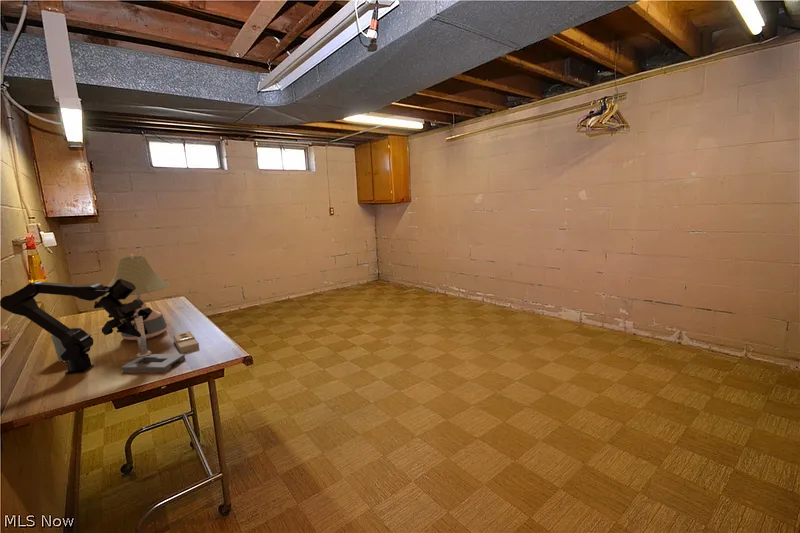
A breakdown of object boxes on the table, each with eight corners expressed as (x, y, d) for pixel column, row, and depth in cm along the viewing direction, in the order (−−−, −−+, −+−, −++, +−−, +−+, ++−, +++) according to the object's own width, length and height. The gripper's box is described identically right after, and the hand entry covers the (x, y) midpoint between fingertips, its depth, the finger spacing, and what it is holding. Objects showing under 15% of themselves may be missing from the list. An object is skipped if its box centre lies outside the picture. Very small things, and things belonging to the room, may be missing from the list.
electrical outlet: (179, 345, 155) (172, 334, 169) (181, 354, 156) (174, 342, 169) (198, 341, 160) (190, 330, 173) (199, 349, 161) (191, 338, 174)
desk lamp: (124, 350, 161) (107, 260, 153) (105, 338, 178) (89, 256, 170) (185, 333, 181) (172, 252, 173) (163, 323, 198) (151, 249, 190)
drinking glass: (54, 364, 149) (48, 337, 146) (58, 356, 157) (53, 331, 154) (86, 358, 154) (80, 331, 152) (88, 350, 162) (83, 325, 160)
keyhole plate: (121, 372, 139) (120, 367, 139) (145, 359, 151) (144, 354, 151) (165, 372, 138) (164, 367, 138) (185, 359, 150) (184, 354, 149)
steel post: (134, 357, 141) (127, 319, 138) (141, 352, 146) (135, 315, 143) (146, 357, 141) (140, 318, 138) (154, 352, 146) (148, 315, 143)
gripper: (102, 300, 131) (133, 330, 131) (145, 288, 149) (172, 314, 149) (88, 320, 133) (118, 349, 133) (132, 306, 151) (158, 331, 152)
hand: (143, 334), depth 142 cm, fingers closed on steel post, 3 cm apart
